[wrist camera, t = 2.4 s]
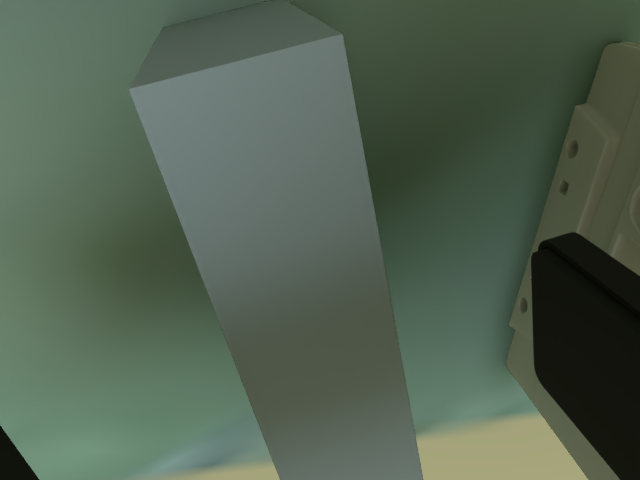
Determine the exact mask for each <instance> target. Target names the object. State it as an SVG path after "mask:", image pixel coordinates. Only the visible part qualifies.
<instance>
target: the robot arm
mask: <svg viewBox="0 0 640 480" xmlns="http://www.w3.org/2000/svg"><path fill="white" fill-rule="evenodd" d="M531 282H532V318H533V355H534V369H535V373H536V375H537V378H538V380H539V382H540V383H541V385H542V386H543V387H544V389H545V390H546V391H547V392H548V393H549V395H550V396H551V397H552V398H553V399H554V401H555V402H556V403H557V404H558V405H559V407H560V408H561V409H562V410H563V411H564V413H565V414H566V415H567V416H568V417H569V419H570V420H571V421H572V422H573V423H574V425H575V426H576V427H577V428H578V429H579V431H580V432H581V433H582V434H583V436H584V437H585V438H586V439H587V440H588V442H589V443H590V444H591V445H592V446H593V448H594V449H595V450H596V451H597V452H598V454H599V455H600V456H601V457H602V458H603V460H604V461H605V462H606V463H607V464H608V466H609V467H610V468H611V469H612V470H613V472H614V473H615V474H616V475H617V476H618V478H619V479H620V480H640V276H639V275H637V274H636V273H635V272H633V271H632V270H630V269H629V268H627V267H626V266H625V265H623V264H622V263H620V262H619V261H617V260H616V259H614V258H613V257H612V256H610V255H609V254H607V253H606V252H604V251H603V250H602V249H600V248H599V247H597V246H596V245H594V244H593V243H591V242H590V241H589V240H587V239H586V238H584V237H583V236H581V235H580V234H578V233H576V232H570V233H567V234H563V235H560V236H557V237H554V238H550V239H547V240H544V241H542V242H541V243H540V244H539V246H538V251H536V252H534V253H533V254H532V256H531ZM0 480H39V479H38V477H37V476H36V475H35V473H34V472H33V470H32V469H31V468H30V466H29V465H28V463H27V462H26V461H25V459H24V458H23V457H22V455H21V454H20V452H19V451H18V450H17V448H16V447H15V445H14V444H13V443H12V441H11V440H10V438H9V437H8V436H7V434H6V433H5V431H4V430H3V429H2V427H1V426H0Z"/></svg>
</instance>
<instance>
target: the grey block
mask: <svg viewBox="0 0 640 480" xmlns="http://www.w3.org/2000/svg"><path fill="white" fill-rule="evenodd" d="M129 92H130V94H131V97H132V99H133V102H134V104H135V107H136V110H137V112H138V115H139V117H140V120H141V122H142V125H143V128H144V130H145V133H146V135H147V138H148V141H149V143H150V146H151V148H152V151H153V153H154V156H155V159H156V161H157V164H158V166H159V169H160V171H161V174H162V177H163V179H164V182H165V184H166V187H167V189H168V192H169V195H170V197H171V200H172V202H173V205H174V207H175V210H176V213H177V215H178V218H179V220H180V223H181V226H182V228H183V231H184V233H185V236H186V238H187V241H188V244H189V246H190V249H191V251H192V254H193V256H194V259H195V262H196V264H197V267H198V269H199V272H200V274H201V277H202V280H203V282H204V285H205V287H206V290H207V292H208V295H209V298H210V300H211V303H212V305H213V308H214V311H215V313H216V316H217V318H218V321H219V323H220V326H221V329H222V331H223V334H224V336H225V339H226V341H227V344H228V347H229V349H230V352H231V354H232V357H233V359H234V362H235V365H236V367H237V370H238V372H239V375H240V377H241V380H242V383H243V385H244V388H245V390H246V393H247V396H248V398H249V401H250V403H251V406H252V408H253V411H254V414H255V416H256V419H257V421H258V424H259V426H260V429H261V432H262V434H263V437H264V439H265V442H266V444H267V447H268V450H269V452H270V455H271V457H272V460H273V462H274V465H275V468H276V470H277V473H278V475H279V478H280V480H423V475H422V470H421V464H420V459H419V454H418V448H417V442H416V436H415V431H414V425H413V420H412V414H411V409H410V403H409V398H408V392H407V387H406V381H405V376H404V370H403V365H402V359H401V354H400V348H399V343H398V337H397V331H396V326H395V320H394V315H393V309H392V304H391V298H390V293H389V287H388V282H387V276H386V271H385V265H384V260H383V254H382V249H381V243H380V238H379V232H378V226H377V221H376V215H375V210H374V204H373V199H372V193H371V188H370V182H369V177H368V171H367V166H366V160H365V155H364V149H363V144H362V138H361V133H360V127H359V122H358V116H357V110H356V105H355V99H354V94H353V88H352V83H351V77H350V72H349V66H348V61H347V55H346V50H345V44H344V39H343V34H342V33H340V32H339V31H337V30H335V29H334V28H332V27H330V26H328V25H327V24H325V23H323V22H322V21H320V20H318V19H316V18H315V17H313V16H311V15H310V14H308V13H306V12H304V11H303V10H301V9H299V8H298V7H296V6H294V5H293V4H291V3H289V2H287V1H286V0H270V1H266V2H262V3H258V4H254V5H250V6H246V7H242V8H238V9H234V10H230V11H226V12H222V13H218V14H214V15H210V16H207V17H203V18H199V19H195V20H191V21H187V22H183V23H179V24H175V25H171V26H167V27H163V28H162V30H161V32H160V34H159V35H158V37H157V39H156V41H155V43H154V44H153V46H152V48H151V50H150V52H149V53H148V55H147V57H146V59H145V61H144V62H143V64H142V66H141V68H140V70H139V71H138V73H137V75H136V77H135V79H134V80H133V82H132V84H131V86H130V88H129Z"/></svg>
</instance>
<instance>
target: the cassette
mask: <svg viewBox="0 0 640 480" xmlns="http://www.w3.org/2000/svg"><path fill="white" fill-rule="evenodd" d="M570 232H576V233H578V234H580V235H581V236H583V237H584V238H586V239H587V240H589V241H590V242H591V243H593V244H594V245H596V246H597V247H599V248H600V249H602V250H603V251H604V252H606V253H607V254H609V255H610V256H612V257H613V258H614V259H616V260H617V261H619V262H620V263H622V264H623V265H625V266H626V267H627V268H629V269H630V270H632V271H633V272H635V273H636V274H637V275H639V276H640V44H639V43H634V42H626V41H621V42H620V43H611V44H609V45H607V46H606V47H605V48H604V50H603V53H602V56H601V59H600V62H599V65H598V69H597V72H596V75H595V78H594V81H593V85H592V88H591V91H590V94H589V96H588V99H587V101H586V103H584V104H582V105H576V106H575V108H574V112H573V115H572V118H571V122H570V125H569V128H568V131H567V135H566V138H565V141H564V145H563V148H562V151H561V154H560V158H559V161H558V164H557V167H556V171H555V174H554V177H553V181H552V184H551V187H550V190H549V194H548V197H547V200H546V203H545V207H544V210H543V213H542V217H541V220H540V223H539V226H538V230H537V233H536V236H535V240H534V243H533V246H532V249H531V253H530V256H529V259H528V262H527V266H526V269H525V272H524V276H523V279H522V282H521V285H520V289H519V292H518V295H517V299H516V302H515V305H514V308H513V312H512V315H511V318H510V321H509V325H508V326H510V327H512V328H514V329H515V332H514V336H513V339H512V343H511V346H510V349H509V352H508V355H507V359H506V364H507V367H508V369H509V371H510V372H511V374H512V375H513V376H514V378H515V379H516V380H517V382H518V383H519V384H520V386H521V387H522V389H523V390H524V391H525V393H526V394H527V395H528V397H529V398H530V400H531V401H532V402H533V404H534V405H535V407H536V408H537V409H538V411H539V412H540V413H541V415H542V416H543V418H544V419H545V420H546V422H547V423H548V424H549V426H550V427H551V429H552V430H553V431H554V433H555V434H556V435H557V437H558V438H559V440H560V441H561V442H562V444H563V445H564V446H565V448H566V449H567V451H568V452H569V453H570V455H571V456H572V457H573V459H574V460H575V461H576V463H577V464H578V466H579V467H580V468H581V470H582V471H583V473H584V474H585V475H586V477H587V478H588V479H589V480H620V479H619V478H618V476H617V475H616V474H615V473H614V472H613V470H612V469H611V468H610V467H609V466H608V464H607V463H606V462H605V461H604V460H603V458H602V457H601V456H600V455H599V454H598V452H597V451H596V450H595V449H594V448H593V446H592V445H591V444H590V443H589V442H588V440H587V439H586V438H585V437H584V436H583V434H582V433H581V432H580V431H579V429H578V428H577V427H576V426H575V425H574V423H573V422H572V421H571V420H570V419H569V417H568V416H567V415H566V414H565V413H564V411H563V410H562V409H561V408H560V407H559V405H558V404H557V403H556V402H555V401H554V399H553V398H552V397H551V396H550V395H549V393H548V392H547V391H546V390H545V389H544V387H543V386H542V385H541V383H540V382H539V380H538V378H537V375H536V373H535V369H534V355H533V318H532V282H531V256H532V254H533V253H534V252H536V251H538V246H539V244H540V243H541V242H542V241H544V240H547V239H550V238H554V237H557V236H560V235H563V234H567V233H570Z"/></svg>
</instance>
